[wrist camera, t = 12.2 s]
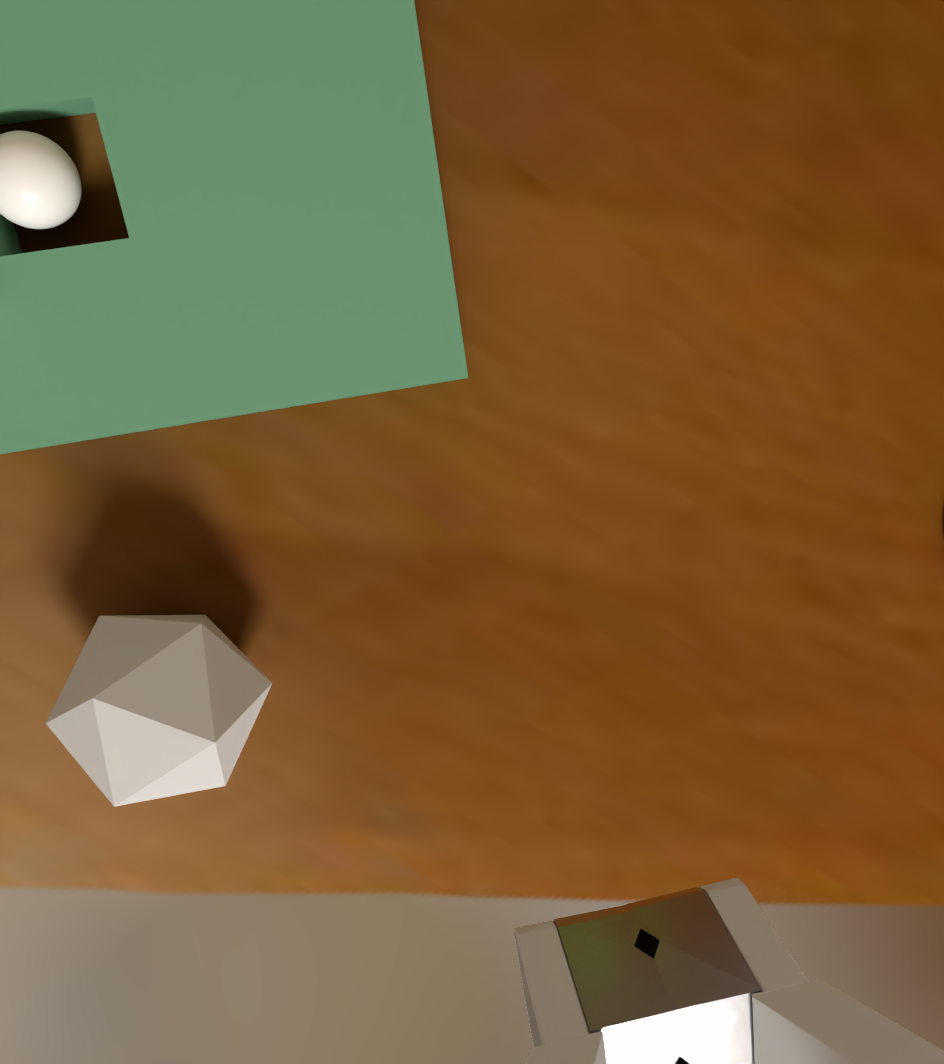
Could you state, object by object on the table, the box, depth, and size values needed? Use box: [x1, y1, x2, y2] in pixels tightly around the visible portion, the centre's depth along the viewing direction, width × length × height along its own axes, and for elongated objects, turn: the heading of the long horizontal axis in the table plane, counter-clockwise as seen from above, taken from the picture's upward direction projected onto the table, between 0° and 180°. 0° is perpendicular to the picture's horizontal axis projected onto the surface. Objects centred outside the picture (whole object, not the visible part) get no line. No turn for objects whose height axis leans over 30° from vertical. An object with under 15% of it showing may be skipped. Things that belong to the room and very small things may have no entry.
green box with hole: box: [0, 0, 468, 454], centre depth 30 cm, size 20×20×6 cm
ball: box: [0, 131, 82, 229], centre depth 30 cm, size 4×4×4 cm
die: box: [46, 615, 272, 806], centre depth 35 cm, size 8×9×10 cm
